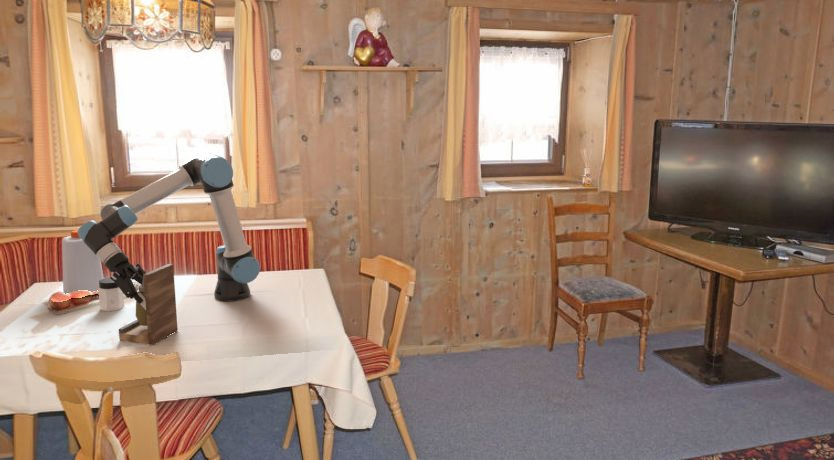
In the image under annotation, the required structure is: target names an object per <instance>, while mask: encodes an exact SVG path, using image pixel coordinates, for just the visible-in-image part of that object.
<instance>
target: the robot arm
mask: <svg viewBox="0 0 834 460" xmlns="http://www.w3.org/2000/svg"><path fill="white" fill-rule="evenodd" d="M233 177H234V168H233V166H232V164H231V163H230V162H229V161H228V160H227V159H226V158H225V157H223V156H219V155H214V154H211V153H202V154H198V155H196V156H195V157H193V158H191V159H189V160H187V161H186V162H184V163H182V164H180V165H179V167H178V168H177V170H174V171H172V172H170V173H168V174H167V175H165V176H163V177H161V178H159V179H157V180H155V181H154V182H151V183H149V184H148V185H145V186H144V187H142V188H140V189H138V190H136V191H135V192H133V193H131V194H129V195H127V196H125V197H123V198H121V199H119V200H117V201H116V202H114V203H107V204H105V205H103V207H102V208H101V209H100V213H99V214H100V218H101V220H100V221H99V222H98V221H97V222H96V221H95V220H89V221H87V222H85V223H83V224H82V225H80V226H79V228H78V229H77V230H78V235H79V237H80V238H81V239H82V240H83V242H84V243H85V244H86V245H87V246H88V247H89V248H90V249H91V250H92V251H93V253H94V254H95V255H96V256H97V257H98V258H99V259H100V260H101V263H103V264H104V266H105V267H106V268H107V269H108V270H109V272H111V273H112V275H111V276H109V278H110V279H112V280H113V281H114V282H115V283H116V284H117V286H118V287H119V288H120V289H121V291H122V292H123V295H124V297H126V298H128V299H131V300H132V299H134V300H135V302H136V301H137V302H138V303H139V304H141V305H142V307H143V308H144V309H145V310H146V302H145V297H144V296H143V295H142V294H141V293H138V292H139V291H138V290H137V289H136V287H135V284H134V282H133V280H134V281H136V282H137V283H138V284H140V285H142V281H143V274H145V273H147V272H146V271H145V270H144V269H143V268H142V266H141V264H139V263H137V264H136V265H133V264H132V263H131V262H130V261H129V260H130V258H129V257H128V256H127V255H126V254H125V253H124V252H123V251H122V249H121V248H120V247H119V245H117V244H116V243H115V242H114V239H115V238H116V237H117V236H119V235H120V234H122V233H124V232H125V231H126V230H127V229H130V227H132V226H133V225H134V224H135V223H137V222H138V220H139V217H138V216H137V214H139V213H141V212H143V211H144V210H146V209H148V208H150V207H151V206H153V205H156V204H157V203H159V202H161V201H163V200H165V199H167V198H168V197H170V196H172V195H174V194H175V193H177V192H179V191H181V190H184V189H185V188H187V187H188V186H190V187H194V186H195V185H198V184H201V186H202V189H203V192H204V194H206V195H207V196H209V199H210V202H211V205H212V206H211V207H212V209H213V212H214V216H215V218H216V222H217V225H218V227H219V228H218V229H219V233H220V234H221V238H222V242H223V245H219V246H218V247H217V248H216V252H215V256H216V268H217V281H216V285H215V288H214V292H213V293H214V299H215V300H217V301H221V302H222V301H223V302H237V301H241V300H245V299H248V298H250V296H251V289H250V287H249V283H251V282H253V281H254V280H256V279H257V277H258V276H259V274H260V272H261V265H260V262H259V261H258V259H257V258H255V256H254V252H253V249H252V248H253V247H252V246H251V245H249V244H247V240H246V237H245V234H244V231H243V227H242V224H241V221H240V216H239V214H238V210H237V207H236V203H235V199H234V196H233V192H232V189H233V188H234V181H233ZM137 293H138V294H137Z"/></svg>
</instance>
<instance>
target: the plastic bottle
mask: <svg viewBox="0 0 834 460" xmlns="http://www.w3.org/2000/svg"><path fill="white" fill-rule="evenodd" d="M78 230H79V229H74V230H72V231H71V232H70V235H69V236H65V237H63V238H62V240H61V251H62V252H61V254H62V256H61V259H62V288H63V289H62V290H63V291H62V292H63V293H64V292H65V293H70V292H73V291H78V290H88V291H91V292H93V291H97V290H98V288H99V281H100V280H101V279H105V277H104V274H103V273H104V271H103V267H102V261H101V260H100V259H99V258H98V257H97V256H96V255H95V254H94V253H93V251H92V250H91V249H90V248H89V247H88V246H87V245H86V244H85V243H84V242H83V240H82V239H81V238H80V237H79V235H78ZM65 293H64V294H65Z"/></svg>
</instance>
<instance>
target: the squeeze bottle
mask: <svg viewBox="0 0 834 460" xmlns="http://www.w3.org/2000/svg"><path fill="white" fill-rule="evenodd" d="M137 292H138V293H141V294H142V295H143V296H144V297H145V289H144V277H143V281H142V285H141V284H140V285H139V286H138V291H137ZM138 293H137V294H138ZM135 317H136V320H138V322H139V324H140V325H142V326H147V315H146V310H145V309H144V308H143V307H142V305H141V304H139V303H138V302H137V301H136V300H135Z"/></svg>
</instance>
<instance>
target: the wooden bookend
mask: <svg viewBox="0 0 834 460" xmlns="http://www.w3.org/2000/svg"><path fill="white" fill-rule="evenodd" d="M143 277H144V289H145V302H146V315H147V326H142V325H140V324H139V322H138V320H137V319H136V320H134V321H132V322H130V323H128V324H126V325H124V326H122V327H119V328H118V338H119V341H120V342H123V343H124V342H125V343H126V342H127V343H133V344H134V343H135V344H141V345H147V344H149V345H148V346H155V345H157V344H158V342H159V343H160V342H162V341H163V339H164V338H165V339H167V338H168V337H167V336H169V335H170V334H172V333H174V332H175V333H177V332H178V331H179V329H178V314H177V303H176V301H177V300H176V287H175V286H176V285H175V271H174V264H173V263H167V264H165V265H162V266H160V267H158V268H155V269H152V270H151V271H148V272H146V273H145V274H143ZM177 330H178V331H177ZM176 331H177V332H176ZM175 333H174V334H175ZM172 335H173V334H172ZM170 336H171V335H170ZM170 336H169V337H170ZM166 337H167V338H166ZM165 339H164V340H165ZM161 340H162V341H161ZM156 343H157V344H156Z"/></svg>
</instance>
